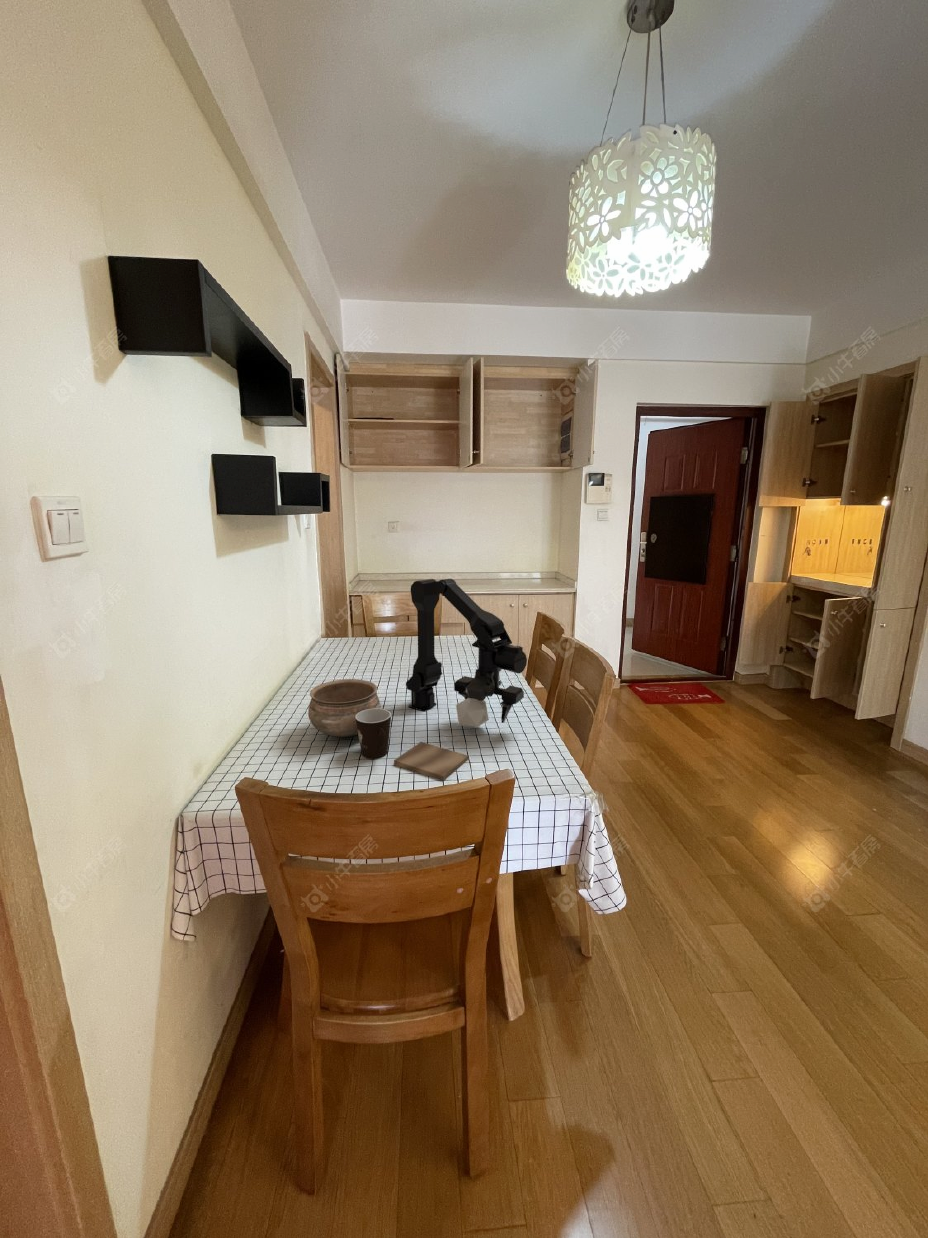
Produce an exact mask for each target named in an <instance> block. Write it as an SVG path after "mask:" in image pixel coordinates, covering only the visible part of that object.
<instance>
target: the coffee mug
mask: <svg viewBox="0 0 928 1238" xmlns="http://www.w3.org/2000/svg"><path fill="white" fill-rule="evenodd" d="M355 718H356V724H357V730H358V734H357V735H358V741H359V746H360V751H361V752H360V753H361V756H362V758H364V759H368V760H378V759H381V758H384V757H386V756H387V755H388V753H389V745H390V744H389V741H390V731H391V730H390V729H391V720H392V713H391V712H390V711H389V710H387V709H384V708H381V709H378V708H374V709H367V710H363V711H361V712H359V713H357V714H356V716H355Z"/></svg>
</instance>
